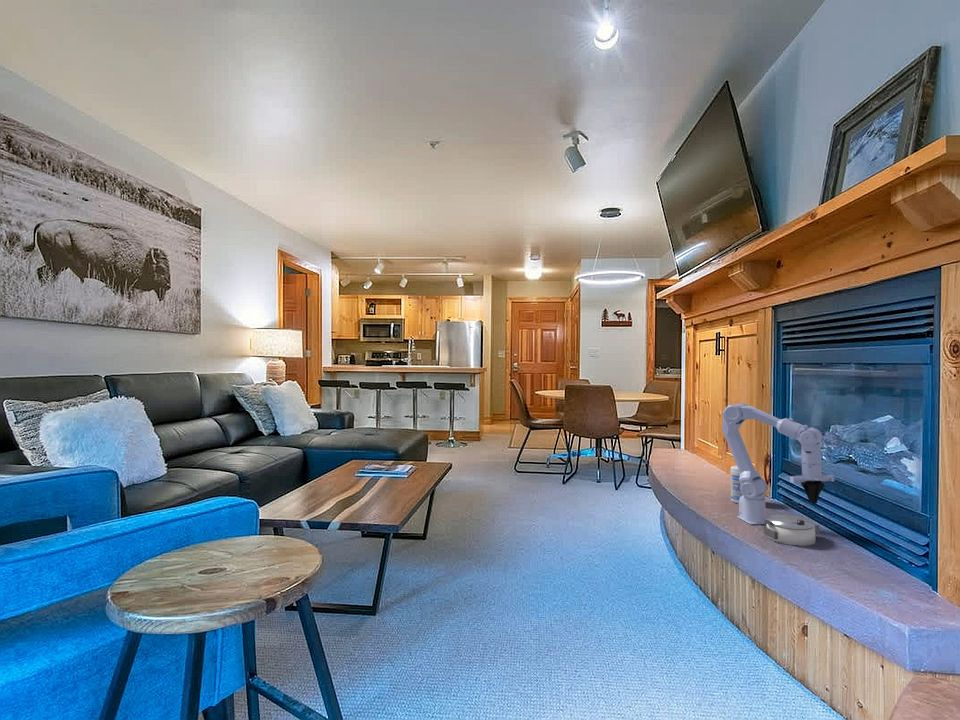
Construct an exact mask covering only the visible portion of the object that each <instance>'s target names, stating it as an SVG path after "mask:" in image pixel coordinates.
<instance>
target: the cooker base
mask: <svg viewBox="0 0 960 720" xmlns="http://www.w3.org/2000/svg"><path fill="white" fill-rule="evenodd" d="M820 531H821V530H820V525H819V524H818V523H815V527H814V528H813V529H808V530H794V529H786V528H781V527H777V526H774V525H768V524H766V526H763V534H764V535H766V537H767V538H768V539H769V538H770V539H769V540H771V539H772V540H771V541H773V540H774V541H773V542H775V541H776V542H775V543H778V542H779V543H778V544H783V545H787V544H789V545H788V546H795V545H798V546H799V547H806V546H812V545H815V544H816V541H817V539H816V535H820V533H821V532H820Z"/></svg>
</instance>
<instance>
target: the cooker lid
mask: <svg viewBox="0 0 960 720" xmlns="http://www.w3.org/2000/svg"><path fill="white" fill-rule="evenodd" d="M765 523H766V524H765V525H767V524H768V525H774V526H777V527H781V528H786V529H794V530H808V529H813V528H814V527H815V524H816V522H814V521H813V520H811V519H809V518H806V517H803V516H799V515H792V514H771V515H770V514H769V515H768V516H767V515H766V520H765Z"/></svg>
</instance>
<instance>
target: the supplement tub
mask: <svg viewBox="0 0 960 720" xmlns="http://www.w3.org/2000/svg"><path fill="white" fill-rule="evenodd" d="M754 469H755V470H756V468H755V467H754ZM739 477H740V472H739V470H738V467H737V465H732V466H731V467H730V500H731V502H733V503H735V504H738V505H739V499H740V497H741V496H742V495H743V494H742V493H741V490H740V481H739Z"/></svg>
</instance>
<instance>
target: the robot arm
mask: <svg viewBox="0 0 960 720" xmlns="http://www.w3.org/2000/svg"><path fill="white" fill-rule="evenodd" d="M746 420H756V421H759V422H761V423H764V424H766V425H769V426H771V427H774V428H776V430H777V432H778V433H779V434H782V435H784V436H786V437H789V438H791V439H793V440H795V441H798V443H800V449H801V450H800V454H801V455H800V456H801V474H799V475H792V476H789V482H790V483H792V484H797V483H800V485H801V487H802V488H803V490H804V491H805V494H806V496H807V500H808V503H810V504H813V505H814V504H818V501H819V496H820V494H821V491H822V490H823V488H824V487H825V483H823V482H835V475H833V474H822V470H823V469H822V452H821V443H820V442H822V440H823V434H822V432H821V431H820V430H819V429H817V428H816V427H812V426H811V427H809V426H808V425H807V424H804V425H803V424H801V423H799V422H797V421H794V419H793V418H791V417H788V418H787V417H785V418H782V419H780V418H778V417H776V416H774V415H771V414H770V413H767V412H765V411H764V410H762V409H758V408H756V407H755V406H752V405H749V404H746V403H744V402H741V403H740V402H739V403H737V404H729V405H727V406H726V407H725V408H724V410H723V411H722V425H721V430H722V432H723V435H724V438H725V441H726V442H727V445H728V447H729V449H730V452H731V456H732V458H733V460H734V462H735V466H737V467H738V470H739V472H740V477H739V481H740V490H741V493H742V494H743V495H742V496H741V497H740V499H739V504H738V514H739V515H737V516H736V517H737V518H738V519H740V520H742V521H743V522H745V523H747V524H748V525H767V524H766V523H765V520H766V517H767V513H766V511H767V510H766V509H767V508H766V495H765V494H766V492H767V490H768V485H767V482H766V481H765V479H763V478H762V475H761V474H760V472H758V471H757V470H756V468H755V466H754V464H753V462H752V460H751V458H750V455H749V453H748V450H747V447H746V444H745V443H744V440H743V438H742V435H741V433H740V431H739V429H740V427H741V425H742V424H743V423H744V422H745V421H746ZM754 468H755V469H754Z"/></svg>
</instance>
